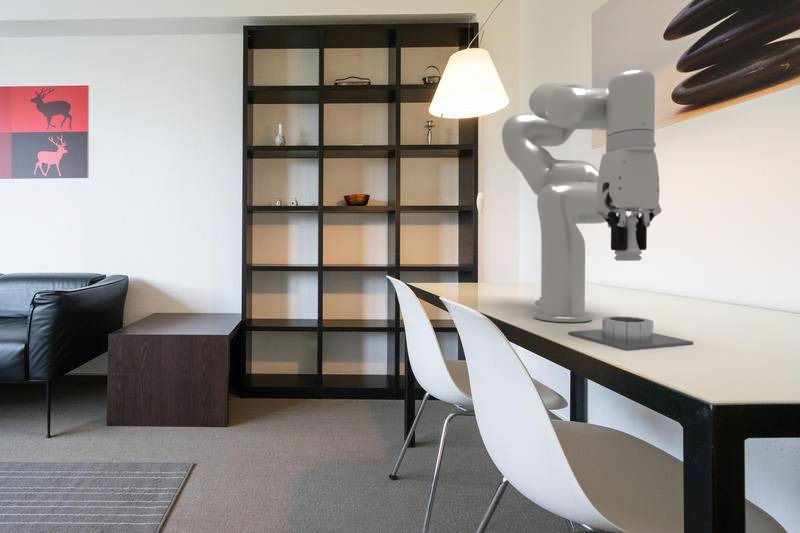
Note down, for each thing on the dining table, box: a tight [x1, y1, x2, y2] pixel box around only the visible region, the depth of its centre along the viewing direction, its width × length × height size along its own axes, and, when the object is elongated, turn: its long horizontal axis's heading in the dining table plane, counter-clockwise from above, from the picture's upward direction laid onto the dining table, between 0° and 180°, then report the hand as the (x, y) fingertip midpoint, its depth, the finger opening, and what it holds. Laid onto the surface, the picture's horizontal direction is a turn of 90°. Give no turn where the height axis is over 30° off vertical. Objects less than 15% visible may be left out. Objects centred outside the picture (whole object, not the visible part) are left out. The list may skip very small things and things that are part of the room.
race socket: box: [567, 315, 694, 351], centre depth 77 cm, size 14×14×4 cm
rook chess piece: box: [613, 214, 643, 262], centre depth 77 cm, size 4×4×8 cm
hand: (628, 249), depth 77 cm, fingers closed on rook chess piece, 3 cm apart
